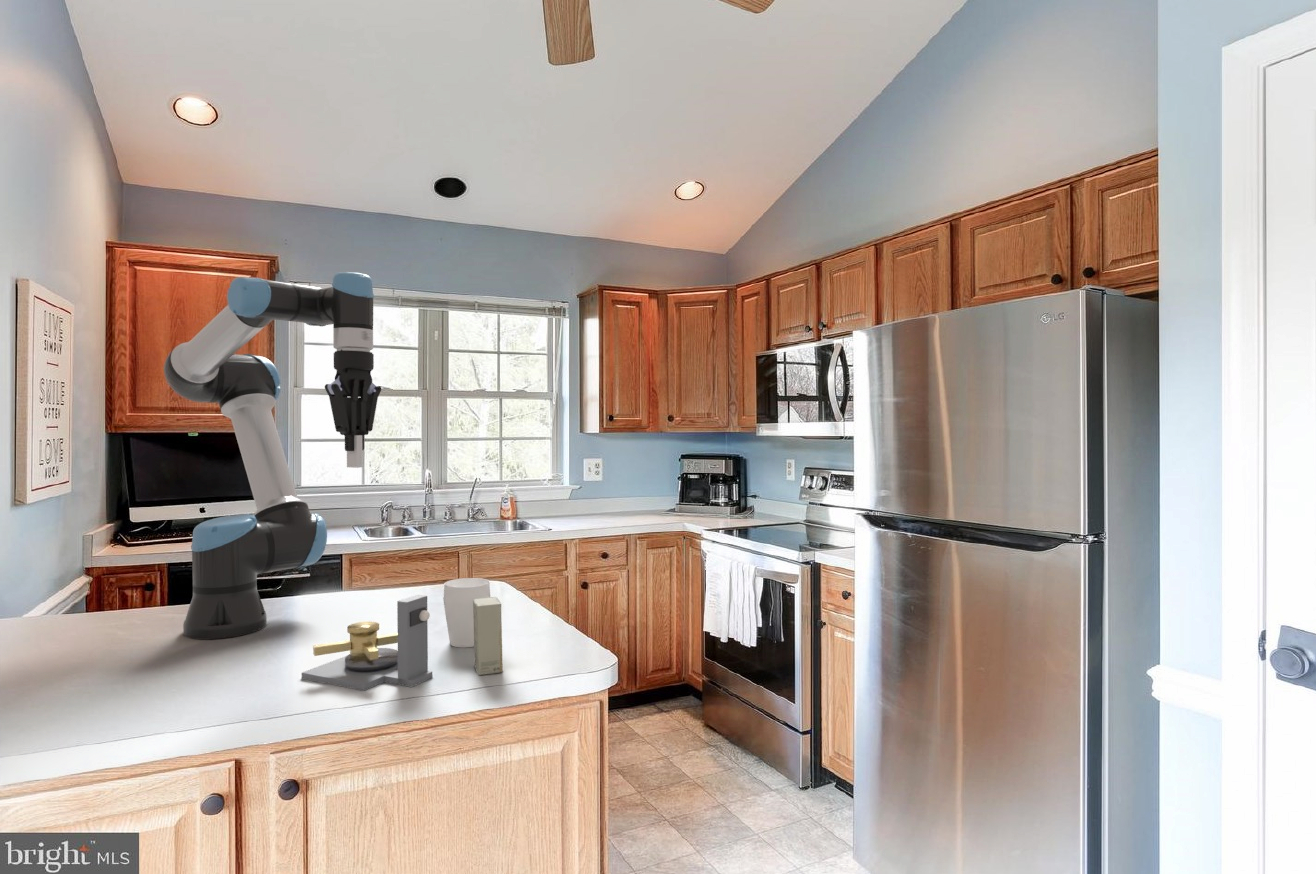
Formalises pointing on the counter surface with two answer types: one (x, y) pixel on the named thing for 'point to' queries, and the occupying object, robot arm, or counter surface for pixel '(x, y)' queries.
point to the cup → (463, 608)
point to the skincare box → (487, 635)
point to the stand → (409, 654)
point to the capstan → (363, 648)
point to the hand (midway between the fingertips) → (354, 467)
